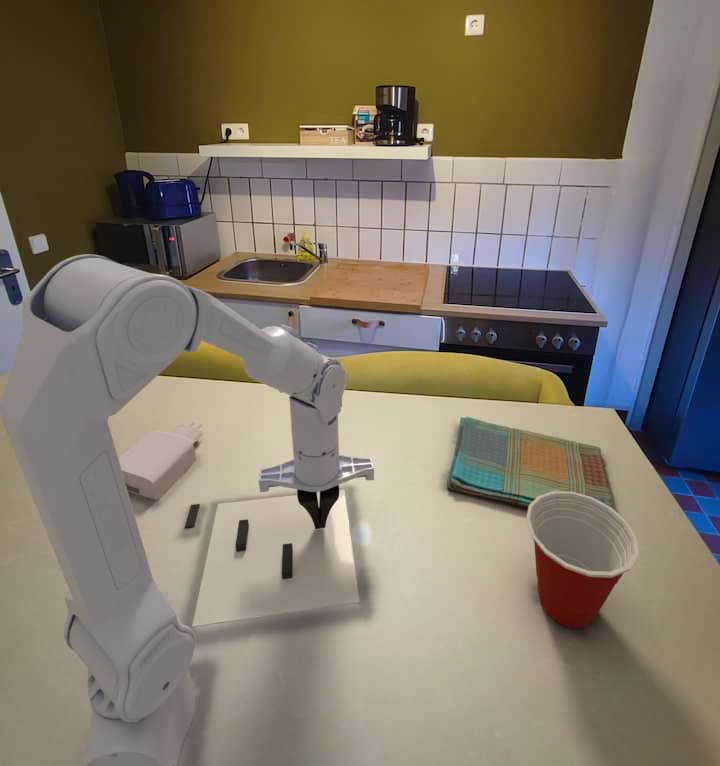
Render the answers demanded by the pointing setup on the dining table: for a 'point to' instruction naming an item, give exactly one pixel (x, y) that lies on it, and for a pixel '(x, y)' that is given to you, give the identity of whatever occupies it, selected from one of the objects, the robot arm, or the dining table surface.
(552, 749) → the dining table surface
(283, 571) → the ink strip
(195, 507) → the ink strip
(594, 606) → the plastic cup
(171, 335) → the robot arm
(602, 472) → the dish towel
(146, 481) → the charger
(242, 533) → the ink strip
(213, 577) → the whiteboard
